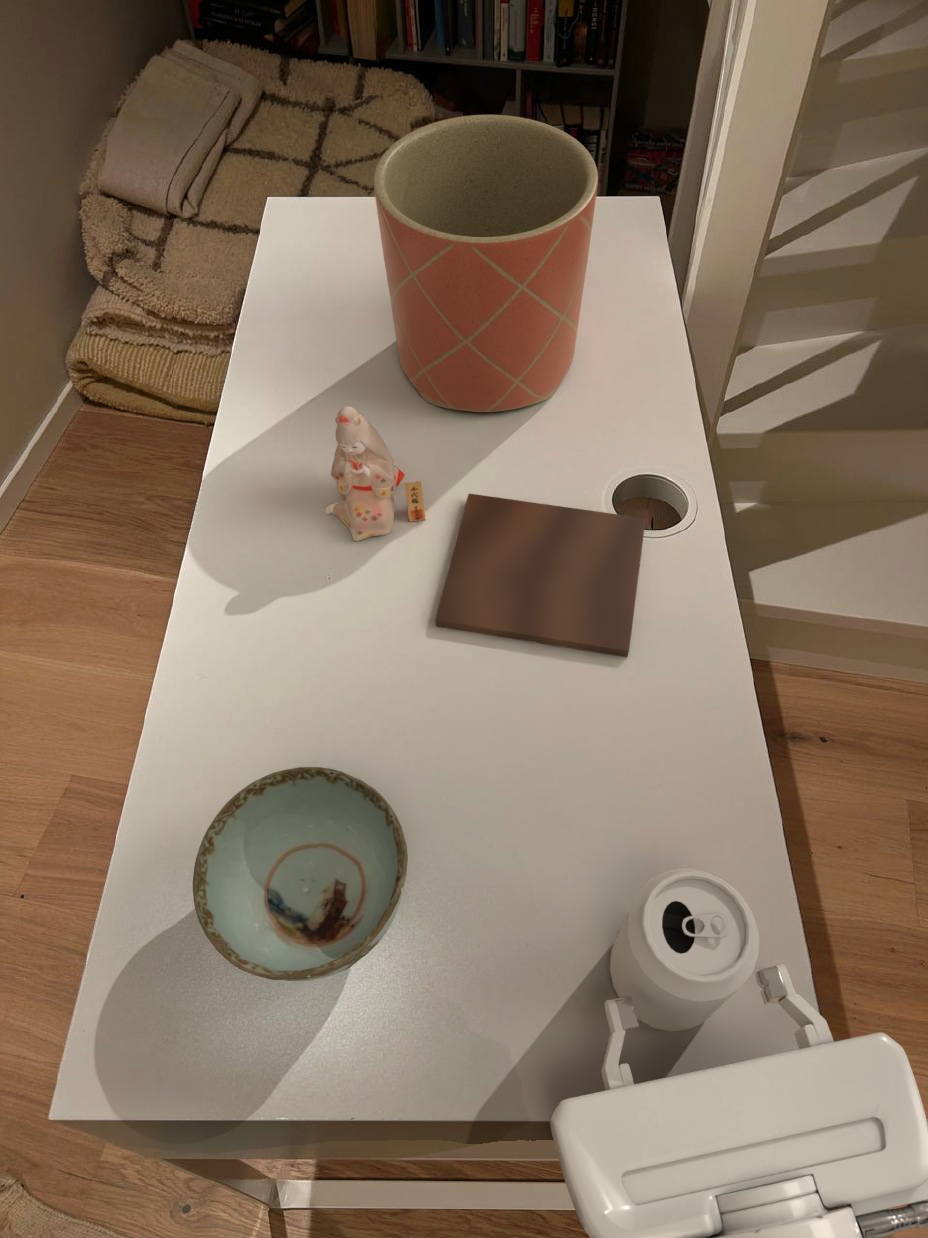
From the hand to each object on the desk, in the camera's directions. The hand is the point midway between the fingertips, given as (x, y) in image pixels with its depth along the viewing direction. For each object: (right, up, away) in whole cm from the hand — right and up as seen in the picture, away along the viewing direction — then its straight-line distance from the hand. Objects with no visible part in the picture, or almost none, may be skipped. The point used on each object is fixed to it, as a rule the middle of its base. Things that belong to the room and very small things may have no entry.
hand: (693, 983), depth 55 cm
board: (-7, +26, +25) cm, 36 cm away
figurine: (-22, +31, +29) cm, 48 cm away
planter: (-11, +48, +40) cm, 64 cm away
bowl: (-24, +2, +10) cm, 26 cm away
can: (0, -2, +7) cm, 7 cm away
